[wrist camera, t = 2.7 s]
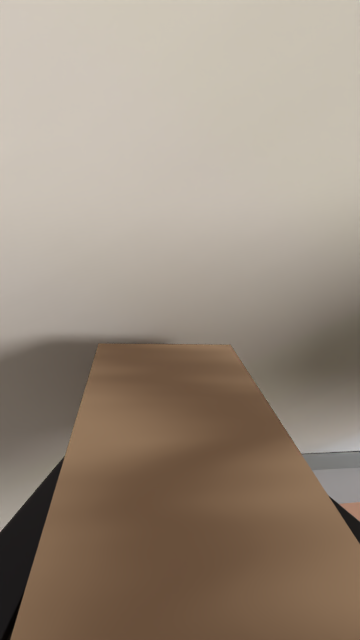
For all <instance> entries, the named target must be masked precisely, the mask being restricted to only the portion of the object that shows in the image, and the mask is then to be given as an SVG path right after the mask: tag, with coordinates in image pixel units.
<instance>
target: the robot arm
mask: <svg viewBox="0 0 360 640" xmlns="http://www.w3.org/2000/svg"><path fill="white" fill-rule="evenodd" d="M64 457H65V456H64ZM64 457H63V459H62V460H61V461H60V462H59V463H58V464H57V466H56V467H55V468H54V469H53V470H52V472H51V473H50V474H49V475H48V476H47V478H46V479H45V480H44V481H43V482H42V483H41V485H40V486H39V487H38V488H37V489H36V491H35V492H34V493H33V494H32V495H31V496H30V498H29V499H28V500H27V501H26V502H25V504H24V505H23V506H22V507H21V508H20V510H19V511H18V512H17V513H16V514H15V515H14V517H13V518H12V519H11V520H10V521H9V523H8V524H7V525H6V526H5V527H4V529H3V530H2V531H1V532H0V640H10V639H11V635H12V632H13V629H14V625H15V622H16V619H17V615H18V612H19V609H20V605H21V602H22V598H23V595H24V592H25V588H26V585H27V582H28V578H29V575H30V572H31V568H32V565H33V562H34V558H35V555H36V551H37V548H38V545H39V541H40V538H41V535H42V531H43V528H44V525H45V521H46V518H47V515H48V511H49V508H50V504H51V501H52V498H53V494H54V491H55V488H56V484H57V481H58V478H59V474H60V471H61V468H62V464H63V461H64ZM328 496H329V495H328ZM329 498H330V499H331V501H332V502H333V504H334V505H335V507H336V508H337V510H338V511H339V513H340V514H341V516H342V518H343V519H344V521H345V522H346V524H347V525H348V527H349V528H350V530H351V531H352V533H353V535H354V536H355V538H356V539H357V541H358V542H359V544H360V521H359V520H358V519H356V518H355V517H354V516H353V515H352V514H350V513H349V512H348V511H347V510H346V509H344V508H343V507H342V506H341V505H340V504H338V503H337V502H336V501H335V500H334V499H332V498H331V497H330V496H329Z"/></svg>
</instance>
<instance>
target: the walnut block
mask: <svg viewBox="0 0 360 640" xmlns="http://www.w3.org/2000/svg"><path fill="white" fill-rule="evenodd" d="M10 640H360V544H359V542H358V541H357V539H356V538H355V536H354V535H353V533H352V531H351V530H350V528H349V527H348V525H347V524H346V522H345V521H344V519H343V518H342V516H341V514H340V513H339V511H338V510H337V508H336V507H335V505H334V504H333V502H332V501H331V499H330V498H329V496H328V494H327V493H326V491H325V490H324V488H323V487H322V485H321V484H320V482H319V481H318V479H317V477H316V476H315V474H314V473H313V471H312V470H311V468H310V467H309V465H308V464H307V462H306V461H305V459H304V457H303V456H302V454H301V453H300V451H299V450H298V448H297V447H296V445H295V444H294V442H293V440H292V439H291V437H290V436H289V434H288V433H287V431H286V430H285V428H284V427H283V425H282V424H281V422H280V420H279V419H278V417H277V416H276V414H275V413H274V411H273V410H272V408H271V407H270V405H269V403H268V402H267V400H266V399H265V397H264V396H263V394H262V393H261V391H260V390H259V388H258V387H257V385H256V383H255V382H254V380H253V379H252V377H251V376H250V374H249V373H248V371H247V370H246V368H245V366H244V365H243V363H242V362H241V360H240V359H239V357H238V356H237V354H236V353H235V351H234V350H233V348H232V346H231V345H206V344H100V343H98V347H97V350H96V353H95V357H94V360H93V363H92V367H91V370H90V373H89V377H88V380H87V384H86V387H85V390H84V394H83V397H82V400H81V404H80V407H79V410H78V414H77V417H76V421H75V424H74V427H73V431H72V434H71V437H70V441H69V444H68V447H67V451H66V454H65V457H64V461H63V464H62V468H61V471H60V474H59V478H58V481H57V484H56V488H55V491H54V494H53V498H52V501H51V504H50V508H49V511H48V515H47V518H46V521H45V525H44V528H43V531H42V535H41V538H40V541H39V545H38V548H37V551H36V555H35V558H34V562H33V565H32V568H31V572H30V575H29V578H28V582H27V585H26V588H25V592H24V595H23V598H22V602H21V605H20V609H19V612H18V615H17V619H16V622H15V625H14V629H13V632H12V635H11V639H10Z"/></svg>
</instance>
